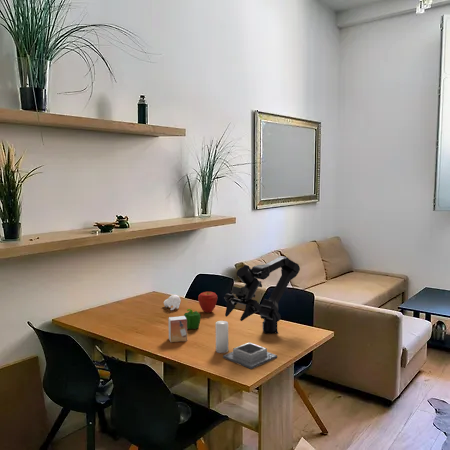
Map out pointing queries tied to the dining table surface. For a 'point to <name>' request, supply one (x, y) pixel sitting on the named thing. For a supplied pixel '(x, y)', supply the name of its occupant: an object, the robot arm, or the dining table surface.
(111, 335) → the dining table surface
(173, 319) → the small box
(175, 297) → the white animal figurine
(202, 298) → the apple
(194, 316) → the bell pepper
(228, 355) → the duct collar
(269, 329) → the robot arm
